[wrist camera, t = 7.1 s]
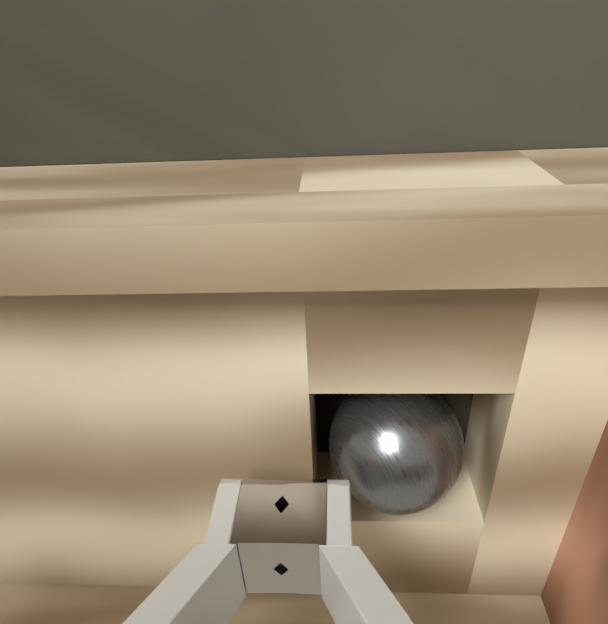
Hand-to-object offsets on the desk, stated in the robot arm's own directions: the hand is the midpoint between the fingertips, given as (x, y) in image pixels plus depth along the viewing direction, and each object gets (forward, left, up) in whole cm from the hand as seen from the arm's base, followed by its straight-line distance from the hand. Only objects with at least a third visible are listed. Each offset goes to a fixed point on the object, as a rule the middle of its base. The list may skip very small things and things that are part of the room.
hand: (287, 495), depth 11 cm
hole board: (0, -3, -4) cm, 5 cm away
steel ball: (0, +3, -2) cm, 3 cm away
